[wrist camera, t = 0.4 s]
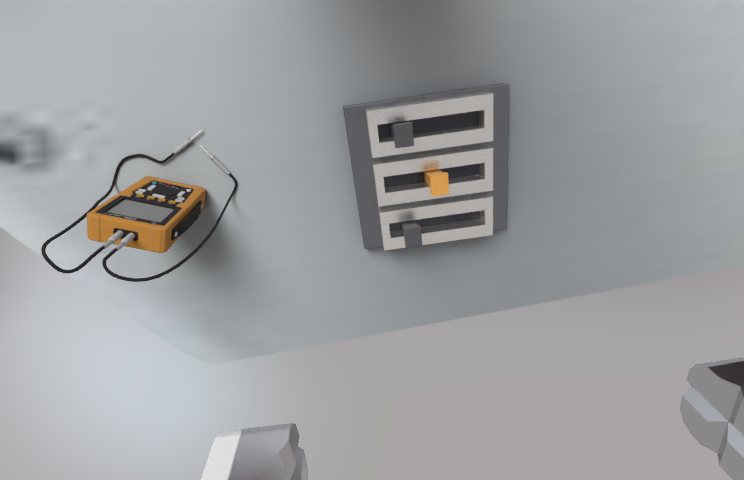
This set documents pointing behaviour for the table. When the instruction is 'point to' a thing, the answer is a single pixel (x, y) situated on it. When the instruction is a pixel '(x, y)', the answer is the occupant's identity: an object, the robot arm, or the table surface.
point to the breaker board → (431, 165)
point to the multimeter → (145, 216)
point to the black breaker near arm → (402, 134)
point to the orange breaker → (437, 182)
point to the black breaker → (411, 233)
